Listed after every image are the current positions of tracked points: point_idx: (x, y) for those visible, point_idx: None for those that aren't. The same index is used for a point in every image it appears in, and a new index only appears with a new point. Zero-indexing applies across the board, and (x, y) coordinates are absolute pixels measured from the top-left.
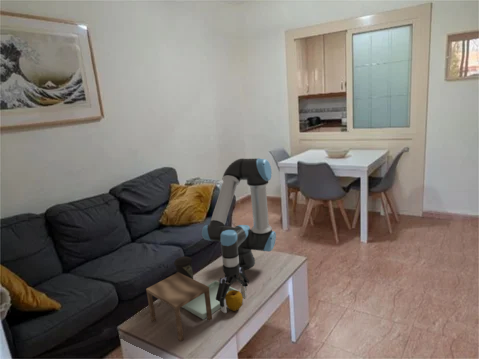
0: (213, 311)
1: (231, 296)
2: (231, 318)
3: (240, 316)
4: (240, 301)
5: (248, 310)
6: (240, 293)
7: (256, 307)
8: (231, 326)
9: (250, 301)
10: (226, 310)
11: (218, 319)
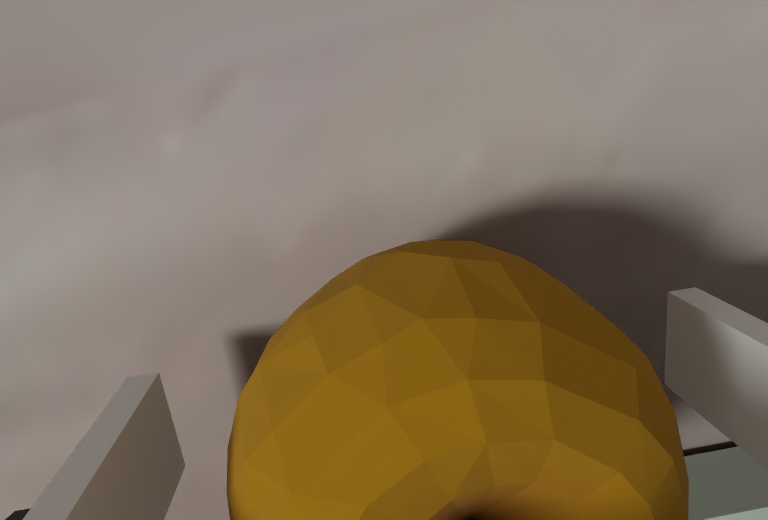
0: (693, 469)
1: (651, 494)
2: (610, 185)
3: (483, 116)
4: (422, 265)
5: (274, 142)
6: (302, 463)
7: (98, 100)
8: (752, 23)
9: (81, 316)
10: (696, 306)
11: (735, 302)
